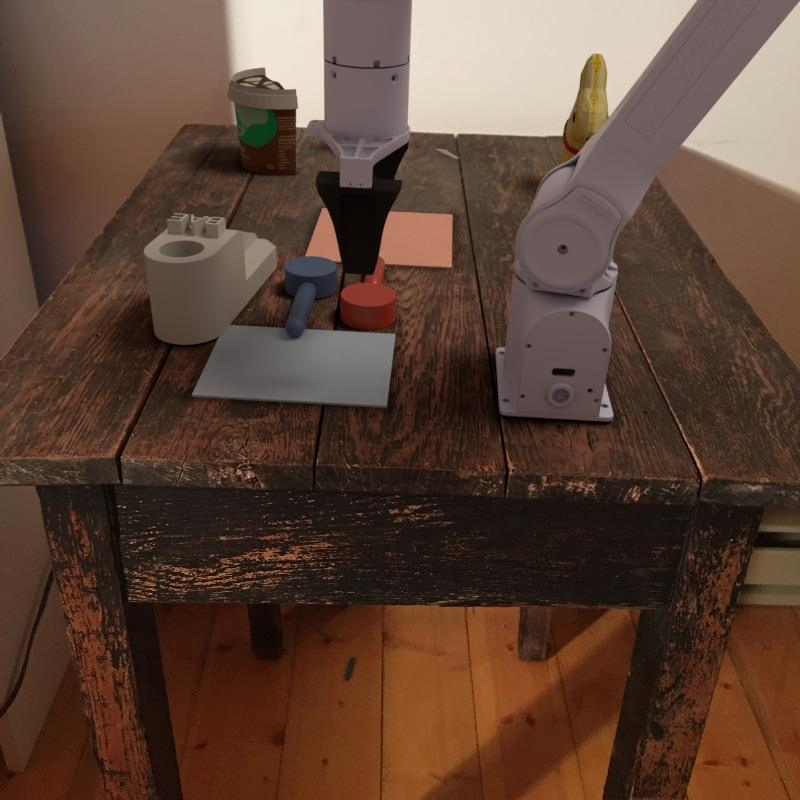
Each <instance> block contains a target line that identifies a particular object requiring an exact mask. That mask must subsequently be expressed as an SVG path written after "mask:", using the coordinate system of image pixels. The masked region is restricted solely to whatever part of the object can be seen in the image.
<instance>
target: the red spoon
mask: <svg viewBox="0 0 800 800" xmlns="http://www.w3.org/2000/svg"><path fill="white" fill-rule="evenodd" d="M385 268H386V266H385V261H384V260H383V258H381V257H378V261H377V265H376V268H375V271H374V274H373V275H365V276H364V280H363V282H357V283H354V284H353V283H352V284H350V285H348V286H345V287H344V288H343V289H342V290H341V292H340V320H341V322H342V323H343V324H344V325H345V326H347V327H350V328H351V329H356V330H361V331H376V330H381V329H385V328H388V327H390V326H392V325H393V324H394V322H395V321H396V307H397V294H396V291H395V290H394V289H393V288H391V287H390V286H388V285H385V284H383V281H384V275H385Z"/></svg>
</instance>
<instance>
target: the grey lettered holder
mask: <svg viewBox="0 0 800 800" xmlns="http://www.w3.org/2000/svg"><path fill="white" fill-rule="evenodd" d="M166 226H167V228H166V229H165V230H163V231H162V232H161V233H160V234H159V235H158V236H156V237H155V238H154V239H153V240H151V242H149V243H148V244H147V245H146V246H145V247H144V248H143V256H144V263H145V271H146V280H147V287H148V288H147V289H148V294H149V302H150V309H151V310H150V311H151V318H152V324H153V326H152V327H153V333H154V335H155V337H156V338H157V339H159V340H160V341H162V342H165V343H166V344H167V343H168V344H173V345H180V346H189V345H199V344H203V343H207V342H211V341H212V340H215V339H218V338H219V336H220V335H221V334H223V332H224V331H225V330H226V329H227V328H228V326H229V325H232V323H233V322H234V320H235V319H236V318H237V317H238V316H239V314H240V313H241V312H242V311H243V310H244V308H246V306H247V305H248V303H249V302H250V301H251V300H252V299H253V297H254V296H255V295H256V293H258V292H259V290H260V288H262V286H263V285H264V284H265V283H266V281H268V279H269V278H270V277H271V275H273V274H274V272H275V270H276V269H277V268H278V259H277V258H278V257H277V246H276V245H275V244H274V243H272V242H271V241H269V240H268V239H266V238H259V237H258V236H257V234H256V233H255V232H250V231H249V232H248V231H244V230H239V229H227V225H226V217H221V216H209V215H204V216H203V217H197V216H195V214H188V213H181V212H179V213H178V212H174V213H173V215H171V216H170V218H166Z"/></svg>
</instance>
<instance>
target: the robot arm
mask: <svg viewBox="0 0 800 800" xmlns="http://www.w3.org/2000/svg"><path fill="white" fill-rule="evenodd" d="M799 3H800V0H696V1H695V2H694V3H693V5H692V6H691V7H690V9H689V10H688V12H687V13H686V14H685V15H684V17H683V18H682V19H681V20H680V22H679V24H678V25H677V26H676V28H675V29H674V30H673V31H672V32H671V34H670V35H669V37H668V38H667V39H666V41H665V42H664V44H663V45H662V46H661V48H660V49H659V50H658V51H657V53H656V54H655V55H654V57H653V58H652V60H651V61H650V62H649V63H648V65H647V66H646V67H645V69H644V70H643V71H642V72H641V74H640V75H639V77H638V78H637V79H636V80H635V82H634V83H633V85H632V86H631V87H630V88H629V90H628V91H627V92H626V94H625V95H624V97H623V98H622V99H621V100H620V102H619V103H618V105H617V107H616V108H614V110H613V111H612V113H610V115H609V118H608V119H607V121H606V122H605V123H604V125H603V126H602V127H601V128H600V129H599V130H598V131H597V132H596V133H595V134H594V135H593V136H592V137H591V138H590V139H589V140H588V141H587V142H586V144H585V145H584V147H583V148H582V149H581V150H580V151H579V153H578V154H577V155H576V156H574V157H573V158H572V159H570V160H569V161H567V162H565V163H563V164H561V165H559V164H558V165H559V166H558V165H556V166H555V167H553V168H552V169H551V170H549V171H548V172H547V173H546V174H545V175H544V176H543V177H542V179H541V180H540V182H539V184H538V185H537V188H536V191H535V194H534V197H533V202H532V204H531V206H530V208H529V210H528V213H527V214H526V216H525V217H523V219H522V220H521V223H520V224H519V227H518V229H517V232H516V235H515V240H514V241H515V242H514V247H515V249H514V250H515V255H516V257H515V259H514V261H513V270H512V278H511V287H510V288H511V289H510V298H509V308H508V318H507V327H506V334H505V346H504V347H503V346H500V347H499V346H498V347H497V348H495V351H494V352H495V353H494V357H495V367H496V369H495V370H496V383H497V396H498V397H497V399H498V410H499V411H498V412H499V413H500V415H502V416H503V417H517V418H535V419H536V418H537V419H551V420H553V419H554V420H569V421H571V420H573V421H590V422H607V423H609V422H611V421H613V420H614V416H615V415H614V410H613V407H612V404H611V399H610V396H609V392H608V388H607V384H606V379H607V375H608V374H607V373H608V368H609V363H610V357H611V351H612V336H611V332H610V328H609V326H610V319H611V313H612V308H613V303H614V297H615V290H616V286H617V278H618V274H619V273H618V270H619V268H618V265H617V263H615V262H614V257H613V256H614V250H615V245H616V242H617V239H618V236H619V235H620V233H622V230H624V228H625V226H626V225H627V224H628V222H629V221H630V220H631V219H632V218H633V216H634V214H635V213H636V211H637V210H638V208H639V206H640V204H641V202H642V201H643V199H644V197H645V195H646V194H647V191H648V190H649V188H650V186H651V185H652V183H653V182H654V180H655V178H656V177H657V175H658V174H659V173H660V172H661V171H662V169H663V168H664V167H665V166H666V165H667V164H668V162H669V161H670V160H671V159H672V158H673V156H674V155H675V154H676V152H677V151H678V150H679V149H680V148H681V147H682V145H683V144H684V143H685V141H686V140H687V139H688V138H689V137H690V136H691V134H692V133H693V132H694V131H695V129H696V128H697V127H698V126H699V124H700V123H701V122H702V121H703V120H704V119H705V118H706V116H707V115H708V114H709V112H710V111H711V110H712V109H713V107H714V106H715V105H716V104H717V103H718V101H719V100H720V99H721V98H722V96H723V95H724V94H725V93H726V91H727V90H728V89H729V88H730V87H731V85H732V84H733V83H734V82H735V81H736V79H737V78H739V76H740V75H741V73H742V72H743V71H744V70H745V68H746V67H747V66H748V65H749V64H750V62H751V61H752V60H753V59H754V57H755V56H756V55H757V54H758V53H759V51H760V50H761V49H762V48H763V47H764V45H765V44H766V43H767V42H768V40H769V39H770V38H771V37H772V36H773V35H774V33H775V32H776V31H777V29H779V27H780V26H781V25H782V24H783V22H784V21H785V20H786V19H787V17H788V16H789V15H790V14H791V12H792V11H793V10H794V9H795V7H796V6H797V5H798V4H799ZM412 12H413V0H322V15H323V16H322V19H323V20H322V21H323V22H322V25H323V27H322V28H323V29H322V31H323V101H324V102H323V105H324V106H323V110H324V111H323V114H324V119H311V120H309V122H308V124H307V127H306V134H307V136H308V137H310V138H317V139H322V140H323V141H324V143H326V145H327V146H328V148H329V149H330V150H331V151H332V153H333V154H334V155H335V156H336V158H337V159H338V161H339V171H333V170H332V171H330V170H318V172H317V175H316V177H315V188H316V191H317V195H318V196H319V198H320V199H321V201H322V202H323V204H324V206H325V208H327V210H328V212H329V215H330V217H331V220H332V223H333V226H334V230H335V234H336V239H337V243H338V248H339V253H340V258H341V262H342V263H341V266H342V269H343V272H344V274H346V275H347V274H348V275H363V276H364V275H373V274H374V271H375V268H376V265H377V261H378V257H379V252H380V246H381V241H382V235H383V230H384V226H385V223H386V220H387V217H388V214H389V212H390V211H391V210H392V207H393V206H394V204H395V202H396V201H397V198H398V196H399V195H400V192H401V190H402V187H403V179H395V178H396V175H397V172H398V169H399V167H400V165H401V162H402V160H403V158H404V156H405V154H407V153H406V152H407V151H408V150H409V145H410V140H411V126H410V125H409V99H410V74H411V73H410V71H411V46H412V45H411V41H412V19H413V18H412V17H413V16H412V15H413V13H412Z"/></svg>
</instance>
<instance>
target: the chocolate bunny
mask: <svg viewBox="0 0 800 800" xmlns="http://www.w3.org/2000/svg"><path fill="white" fill-rule="evenodd" d="M579 77H580V78H579V87H578V92H577V95H576V98H575V101H574V104H573V106H572V109H571V112H570V114H569V117H568V119H566V122H565V123H564V126H563V132H562V144H561V145H562V146H561V151H560V157H559V158H560V159H559V161H558V165H557V166H559V165H561V164H563V163H565V162H567V161H569V160H570V159H572V158H573V157H574V156H576V155H577V154H578V153H579V151H580V150H581V149H582V148H583V147H584V145H585V144H586V142H587V141H588V140H589V139H590V138H591V137H592V136H593V135H594V134H595V133H596V132H597V131H598V130H599V129H600V128H601V127H602V126H603V125H604V123H605V122H606V121H607V119H608V118H609V117H610V115H609V103H608V96H607V82H608V70H607V63H606V60H605V57H604V55H603V54H602V53H592V54H591V55H589V57H588V58H587V60H586V62H585V64H584V66H583V68H582V70H581V72H580V76H579Z"/></svg>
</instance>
